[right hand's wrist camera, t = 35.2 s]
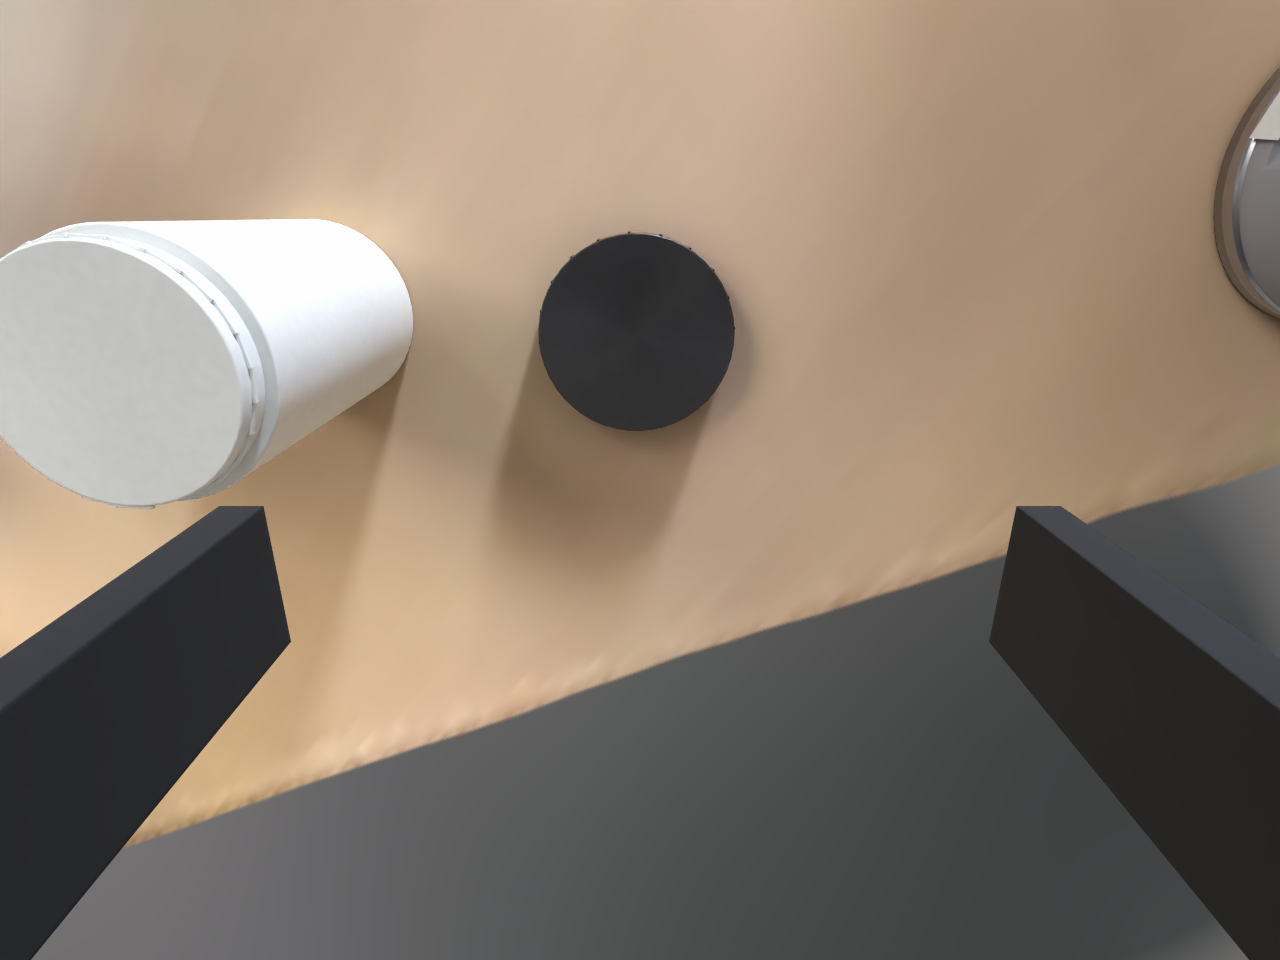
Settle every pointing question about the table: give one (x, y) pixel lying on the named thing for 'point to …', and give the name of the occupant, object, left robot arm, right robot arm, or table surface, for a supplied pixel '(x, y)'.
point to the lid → (636, 331)
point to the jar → (188, 348)
